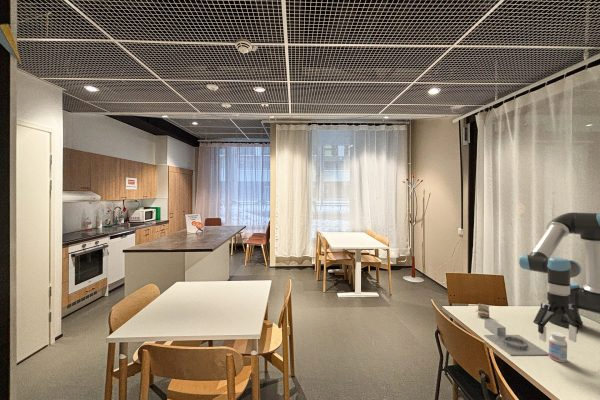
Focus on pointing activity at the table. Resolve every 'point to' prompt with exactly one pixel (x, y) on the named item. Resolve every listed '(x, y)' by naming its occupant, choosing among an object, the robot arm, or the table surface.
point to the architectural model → (483, 310)
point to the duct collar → (511, 340)
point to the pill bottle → (558, 347)
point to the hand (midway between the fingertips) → (557, 340)
